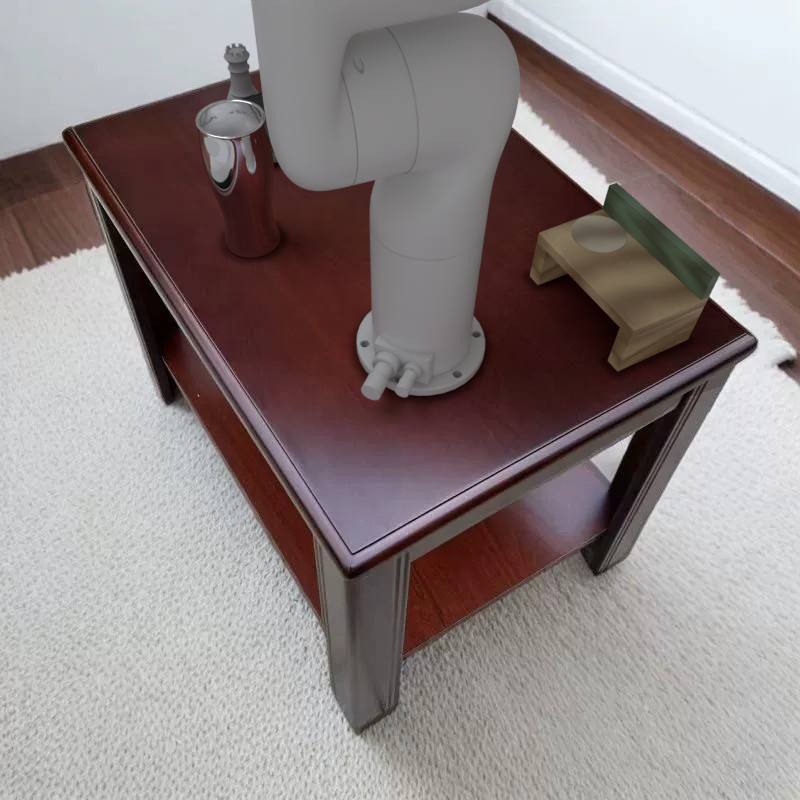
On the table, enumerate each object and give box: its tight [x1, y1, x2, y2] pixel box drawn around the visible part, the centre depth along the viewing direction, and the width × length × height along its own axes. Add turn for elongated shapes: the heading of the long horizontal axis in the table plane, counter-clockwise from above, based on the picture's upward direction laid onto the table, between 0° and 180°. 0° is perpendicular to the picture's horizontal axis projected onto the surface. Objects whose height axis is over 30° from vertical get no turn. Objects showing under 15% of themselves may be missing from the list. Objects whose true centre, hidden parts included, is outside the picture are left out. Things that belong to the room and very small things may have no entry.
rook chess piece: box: [223, 42, 259, 100], centre depth 94 cm, size 4×4×8 cm
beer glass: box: [195, 98, 281, 259], centre depth 75 cm, size 7×7×15 cm
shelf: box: [529, 182, 721, 372], centre depth 72 cm, size 15×9×9 cm, turn 28°
